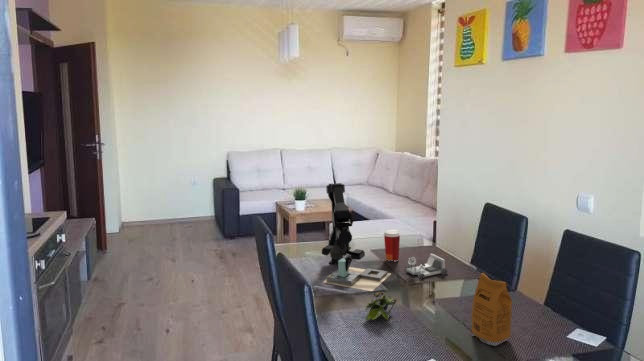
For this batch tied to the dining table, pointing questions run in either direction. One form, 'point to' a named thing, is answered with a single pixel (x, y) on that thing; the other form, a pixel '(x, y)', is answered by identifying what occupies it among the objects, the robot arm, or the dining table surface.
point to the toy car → (427, 266)
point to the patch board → (362, 281)
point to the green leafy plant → (379, 306)
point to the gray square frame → (367, 275)
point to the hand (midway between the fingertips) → (343, 270)
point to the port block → (348, 280)
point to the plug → (342, 268)
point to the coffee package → (491, 310)
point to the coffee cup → (392, 244)
